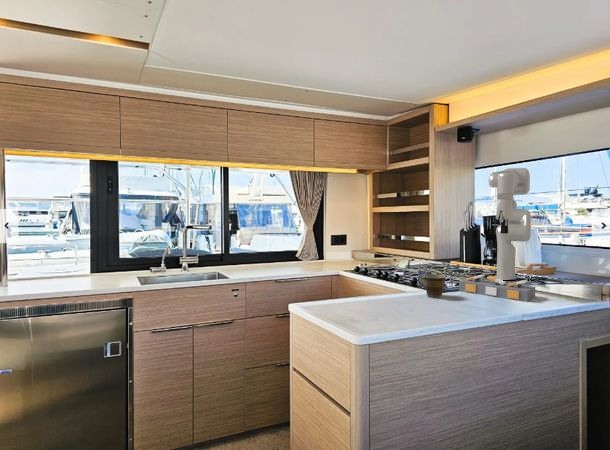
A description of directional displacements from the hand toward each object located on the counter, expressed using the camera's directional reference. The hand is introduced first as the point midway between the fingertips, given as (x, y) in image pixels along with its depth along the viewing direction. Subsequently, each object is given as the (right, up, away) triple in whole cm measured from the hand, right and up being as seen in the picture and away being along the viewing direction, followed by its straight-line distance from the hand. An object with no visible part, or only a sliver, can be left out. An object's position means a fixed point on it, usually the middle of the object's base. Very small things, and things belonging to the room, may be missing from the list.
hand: (504, 233), depth 215 cm
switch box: (-7, -30, -7) cm, 31 cm away
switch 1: (-15, -23, -1) cm, 27 cm away
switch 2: (-8, -23, -8) cm, 26 cm away
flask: (-38, -29, +9) cm, 49 cm away
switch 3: (0, -24, -14) cm, 28 cm away
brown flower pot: (-41, -31, -11) cm, 52 cm away
